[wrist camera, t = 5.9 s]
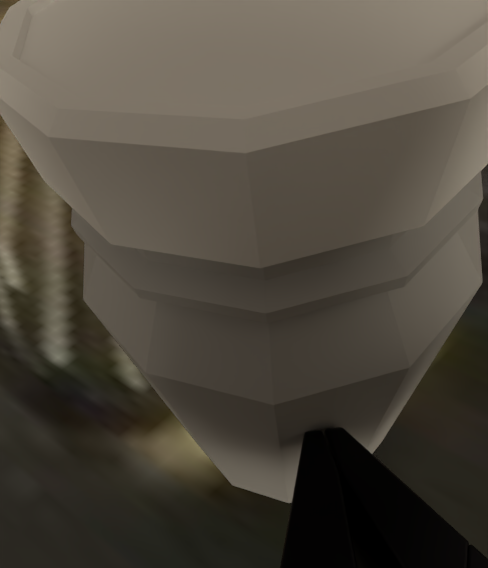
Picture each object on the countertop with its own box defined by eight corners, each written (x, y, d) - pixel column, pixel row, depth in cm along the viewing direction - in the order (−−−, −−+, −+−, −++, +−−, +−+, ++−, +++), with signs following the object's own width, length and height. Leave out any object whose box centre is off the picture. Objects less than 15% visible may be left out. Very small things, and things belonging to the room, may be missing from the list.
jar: (248, 554, 16) (-101, 429, 2) (165, 369, 22) (-85, -11, 8) (427, 434, 18) (880, -52, 4) (310, 293, 24) (327, -123, 10)
